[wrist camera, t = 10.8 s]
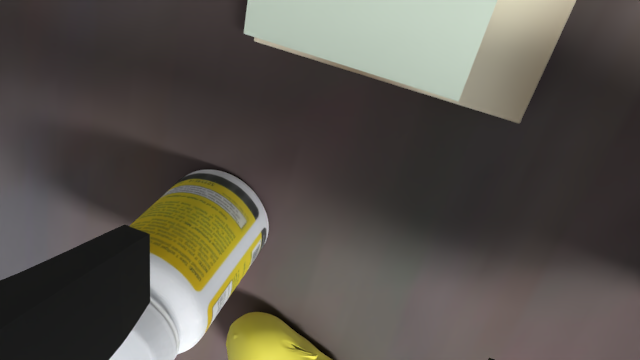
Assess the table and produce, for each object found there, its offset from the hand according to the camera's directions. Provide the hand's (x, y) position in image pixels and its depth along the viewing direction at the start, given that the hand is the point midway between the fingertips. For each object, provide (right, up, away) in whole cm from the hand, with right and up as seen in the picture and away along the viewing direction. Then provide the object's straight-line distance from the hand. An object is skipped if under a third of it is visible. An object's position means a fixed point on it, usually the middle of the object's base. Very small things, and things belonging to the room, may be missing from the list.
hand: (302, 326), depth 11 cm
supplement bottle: (-4, +2, +13) cm, 14 cm away
